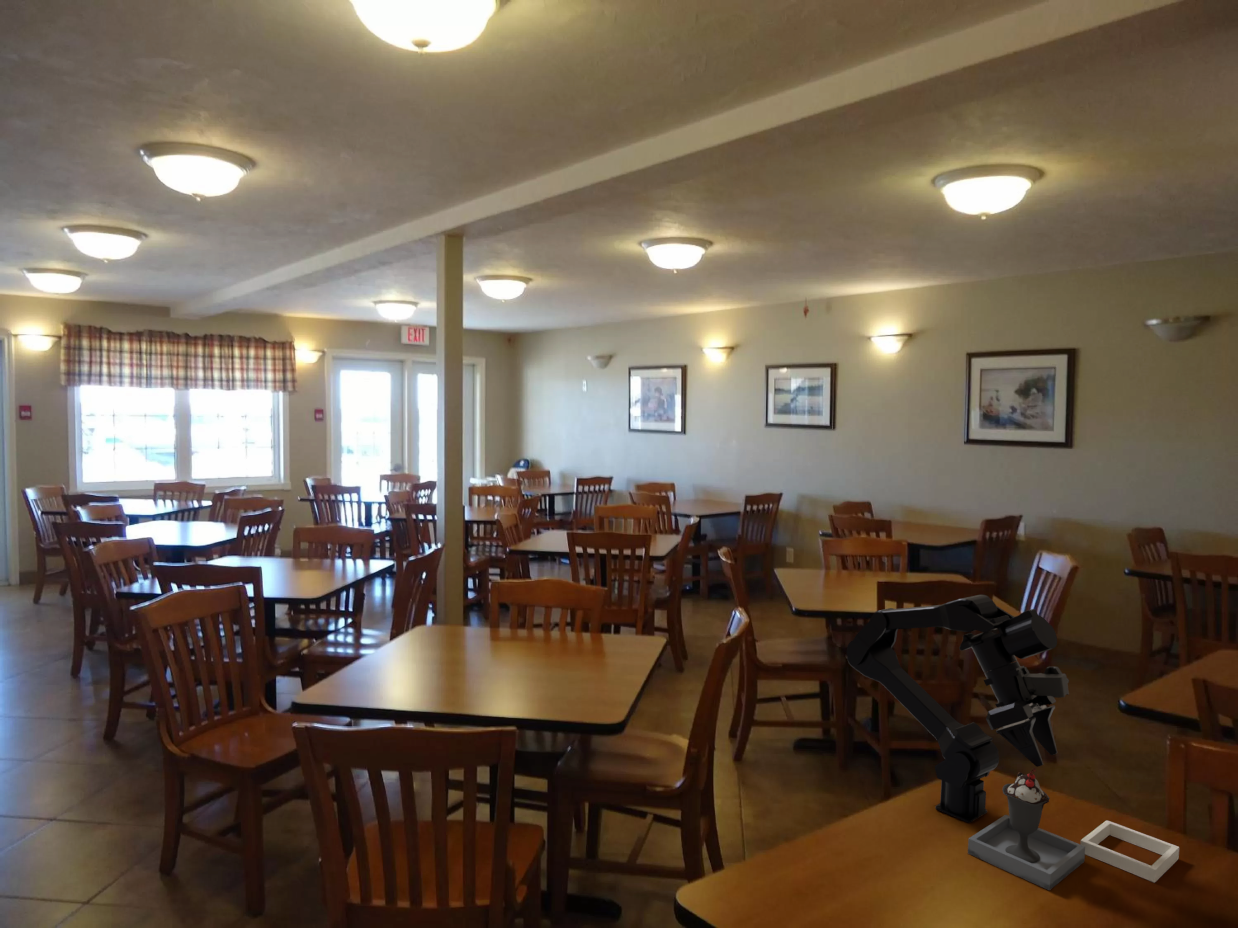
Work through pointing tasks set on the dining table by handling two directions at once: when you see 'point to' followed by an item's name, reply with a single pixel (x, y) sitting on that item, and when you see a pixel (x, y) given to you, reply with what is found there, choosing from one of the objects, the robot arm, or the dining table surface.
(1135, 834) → the white square frame
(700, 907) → the dining table surface
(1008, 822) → the tray
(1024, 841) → the sundae
